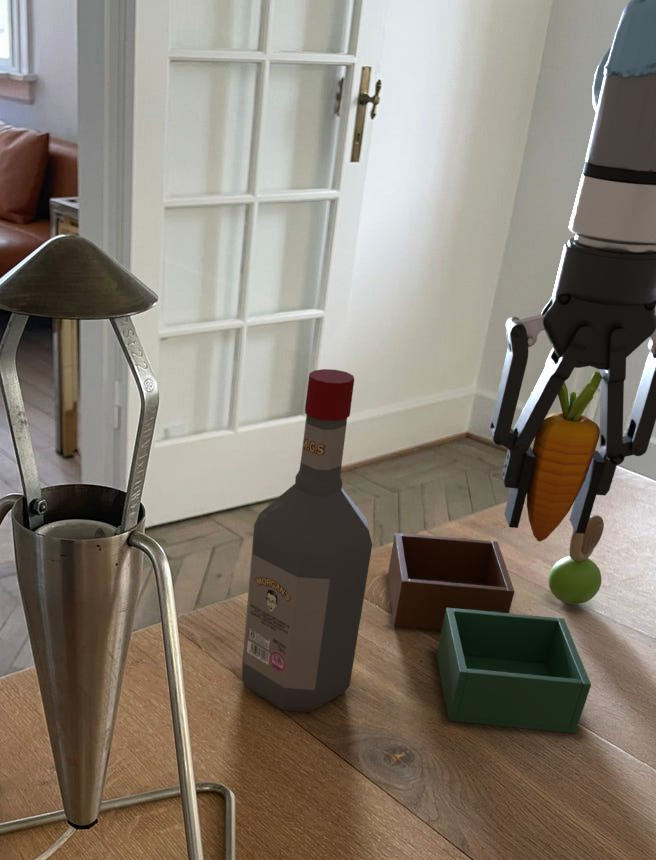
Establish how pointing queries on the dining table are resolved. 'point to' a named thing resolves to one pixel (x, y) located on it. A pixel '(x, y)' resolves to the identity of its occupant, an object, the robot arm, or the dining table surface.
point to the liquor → (308, 567)
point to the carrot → (561, 459)
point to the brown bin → (445, 579)
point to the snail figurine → (578, 567)
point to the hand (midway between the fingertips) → (544, 523)
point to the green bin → (511, 670)
